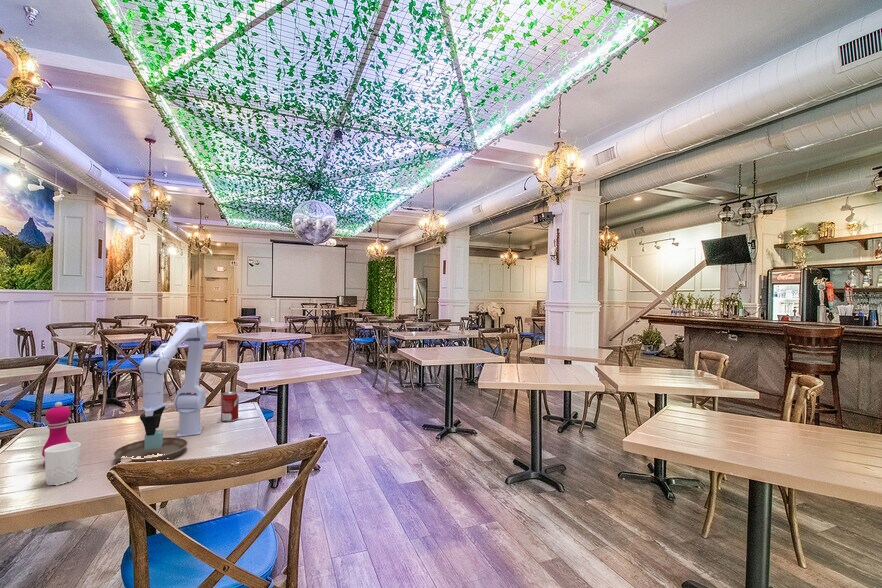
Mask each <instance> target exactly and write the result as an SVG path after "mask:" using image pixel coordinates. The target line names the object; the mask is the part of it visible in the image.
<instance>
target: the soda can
mask: <svg viewBox="0 0 882 588" xmlns="http://www.w3.org/2000/svg"><path fill="white" fill-rule="evenodd" d="M220 401H221V402H220V405H221V406H220V408H221V409H220V420H221V421H222V422H224V421H226V422H225V423H229V422H228V421H232V422H234V421H233V420H235V421H236V420H238V419H239V402H240V400H239V394H238V392H237V391H227V392H223V393H222V396H221V399H220Z"/></svg>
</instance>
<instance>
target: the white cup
mask: <svg viewBox="0 0 882 588" xmlns="http://www.w3.org/2000/svg"><path fill="white" fill-rule="evenodd" d="M81 446H82V444H81V442H78V441H77V442H75V441H74V442H73V441H71V442H69V443H62V444H57V445H54V446H51V447H48V448H46V449H45V450H44V454H45V457H44V460H45V467H44V470H45V477H46V485H47V484H48V485H47V486H49V485H55V484H60V483H63V482H68V481H70V480H72V479H75V478H76V477H77V478H78V474H79V468H80V460H81ZM75 480H76V479H75Z"/></svg>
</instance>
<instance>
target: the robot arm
mask: <svg viewBox="0 0 882 588" xmlns="http://www.w3.org/2000/svg"><path fill="white" fill-rule="evenodd" d="M208 335H209V328H208V326H207V324H206V323H205V322H184V321H183V322H182V321H180V322H178V323H177V324H176V326H175V327H174V333H173V335H172V336H171V338H170V339H169V340H168V341H167V342H164V343H161V344H160V345H159V346H158V348H156V350H155V351H154V352H153V353H152V354H151V355H150V356H148V357H147V356H146V357H145V358H143V359H142V360H141V361H140V363H139V366H138V371H139V373H140V377H141V379H142V380H143V382H142V384H143V385H142V387H143V389H142V405H141V409H142V410H143V412H145V413H143V414H140V415H139V419H140V421H141V422H142V424H143V426H144V431H145V434H146V435H147V436H150V435H154V434H155V431H156V430H157V429H159V427H160V424H161V419H162V415H163V412H164V410H165V408H166V407H167V406H168V403H167V402H164V379H165V378H164V377H165V373H166V372H167V371H168V369H169V365H170V362H171V360H172V359H173V357H175V355H176V354H177V353H178V349H177V348H178V347H180V346H181V345H182V344H186V345H187V346H188V352H187V358H186V366H185V374H184V375H185V376H184V383H183V386H182V387H180V388H179V389H177V391H176V395H175V397H174V400H173V406H174V409H175V410H176V412H177V413H178V414H179V416H178V431H177V433H176V438H180V437H187V436H196V435H200V434H201V432H202V429H203V426H202V425H201V410H203V408H204V407H205V405H206V403H207V397H206V390H205V389H204V388H202V387H201V386H200V378H201V371H202V370H201V369H202V359H203V353H204V344H206V343H208V342H207V341H208Z"/></svg>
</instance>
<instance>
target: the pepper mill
mask: <svg viewBox="0 0 882 588" xmlns="http://www.w3.org/2000/svg"><path fill="white" fill-rule="evenodd" d="M71 413H72V412H71V409H70V408H69V407H68V406H64V405H63V402H62V401H56V402H55V404H54V407H51V408H49V409H48V410H47V412H46V413H45V417H44V418H45V420H46V421H47V422H48V423H47V424H46V425H47V429H49V434H48V437H47V440H46V442H45V444H44V445H43V448H42V451H41V452H42V453H41V455H42V457H43V458H45V454H44V450H45V449H46V448H48V447H51V446H54V445H57V444H62V443H69V442H72V441H71V440H70V438H69V437H68V434H67V426H69V423H70V422H69V420H68V419H69V418H70V417H71ZM43 467H44V468H45V459H44V460H43Z"/></svg>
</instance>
